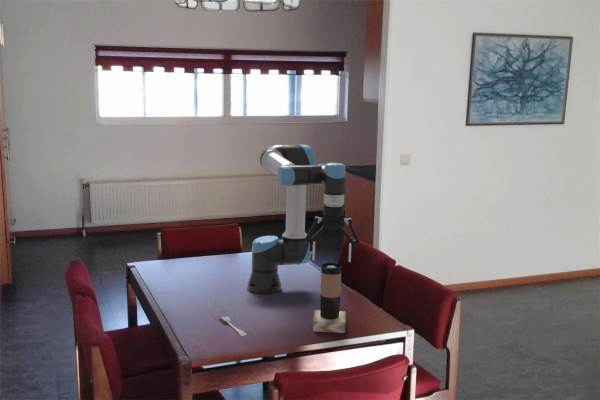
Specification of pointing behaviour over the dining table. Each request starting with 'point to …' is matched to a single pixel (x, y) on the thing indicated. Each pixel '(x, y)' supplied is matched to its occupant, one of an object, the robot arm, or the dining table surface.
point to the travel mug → (330, 290)
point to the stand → (329, 323)
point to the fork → (233, 326)
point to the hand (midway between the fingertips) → (331, 260)
